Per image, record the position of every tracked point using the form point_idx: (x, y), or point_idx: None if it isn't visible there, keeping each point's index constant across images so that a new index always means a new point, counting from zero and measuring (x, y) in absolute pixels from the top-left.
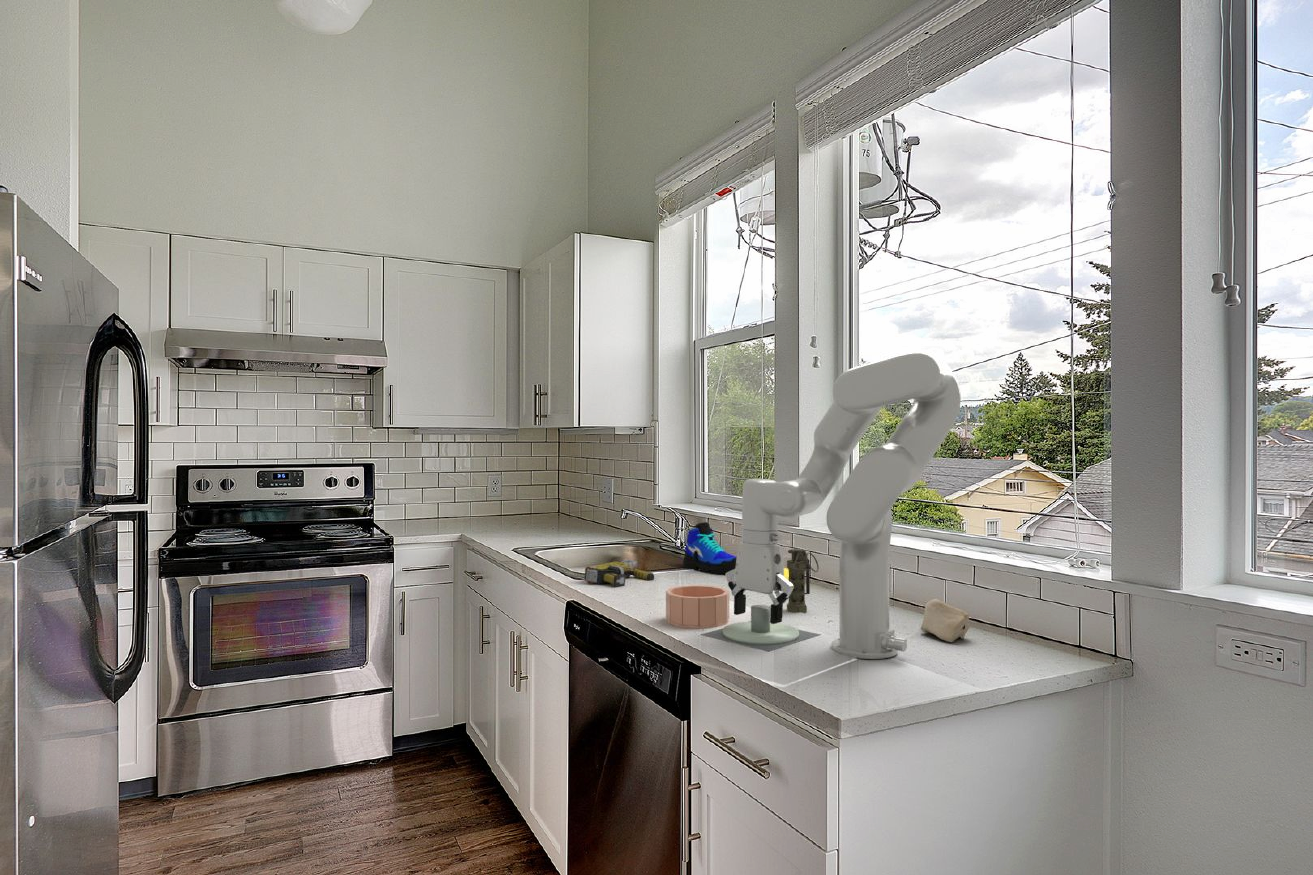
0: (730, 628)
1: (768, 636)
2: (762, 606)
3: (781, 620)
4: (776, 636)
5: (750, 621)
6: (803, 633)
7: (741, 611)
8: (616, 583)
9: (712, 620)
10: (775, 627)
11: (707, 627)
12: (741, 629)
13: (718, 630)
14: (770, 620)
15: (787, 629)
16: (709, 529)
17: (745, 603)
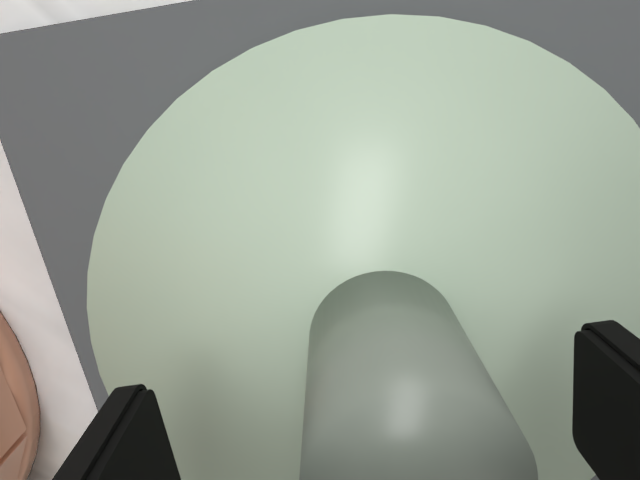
0: (207, 454)
1: (535, 400)
2: (410, 458)
3: (612, 324)
4: None
5: (5, 107)
6: (600, 25)
7: (160, 449)
8: None
9: (4, 471)
10: (386, 175)
11: (28, 462)
12: (272, 416)
13: None
14: (586, 457)
15: (501, 136)
16: None
17: (115, 458)
